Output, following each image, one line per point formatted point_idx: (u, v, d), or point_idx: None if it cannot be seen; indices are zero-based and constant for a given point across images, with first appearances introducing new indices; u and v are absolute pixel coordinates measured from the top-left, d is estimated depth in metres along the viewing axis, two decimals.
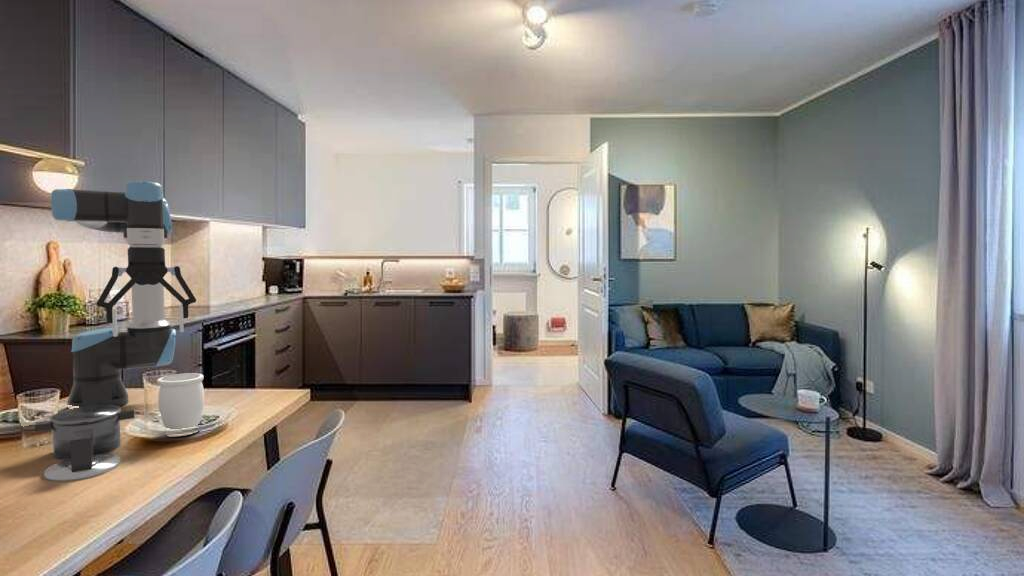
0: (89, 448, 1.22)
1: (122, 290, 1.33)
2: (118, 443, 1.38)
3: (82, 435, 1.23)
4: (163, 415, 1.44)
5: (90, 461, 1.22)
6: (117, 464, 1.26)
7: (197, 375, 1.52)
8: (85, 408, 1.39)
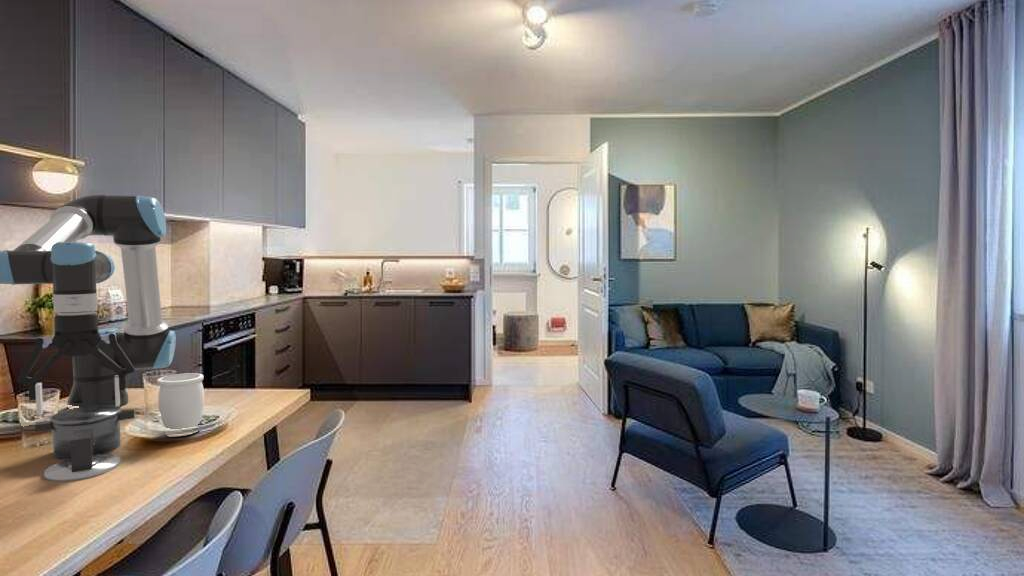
0: (89, 448, 1.22)
1: (47, 363, 1.19)
2: (118, 443, 1.38)
3: (82, 435, 1.23)
4: (163, 415, 1.44)
5: (90, 461, 1.22)
6: (117, 464, 1.26)
7: (197, 375, 1.52)
8: (85, 408, 1.39)
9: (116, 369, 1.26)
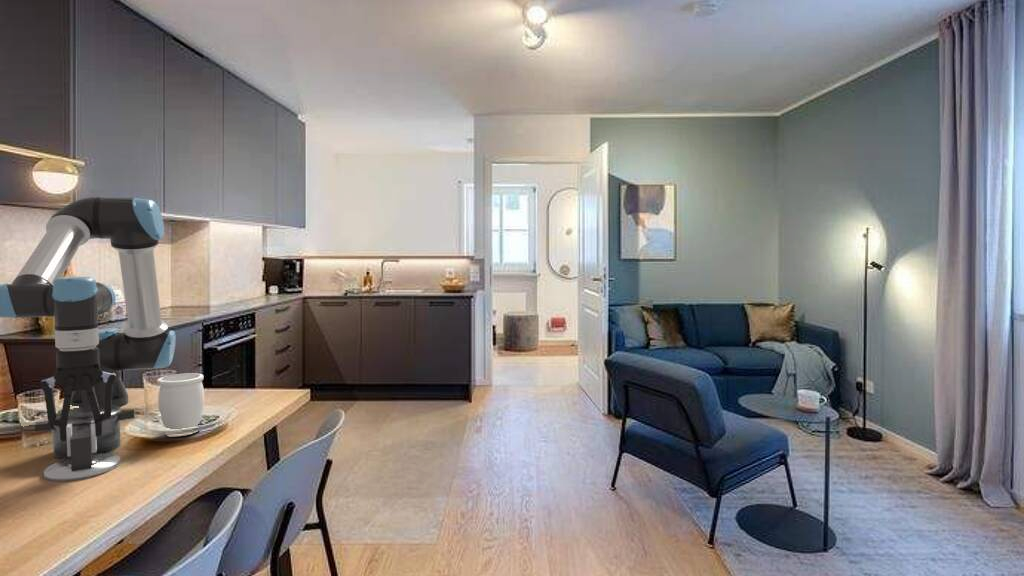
0: (89, 447, 1.22)
1: (64, 403, 1.21)
2: (118, 443, 1.38)
3: (81, 434, 1.23)
4: (163, 415, 1.44)
5: (90, 460, 1.22)
6: (117, 463, 1.26)
7: (197, 375, 1.52)
8: (85, 408, 1.39)
9: (96, 413, 1.24)
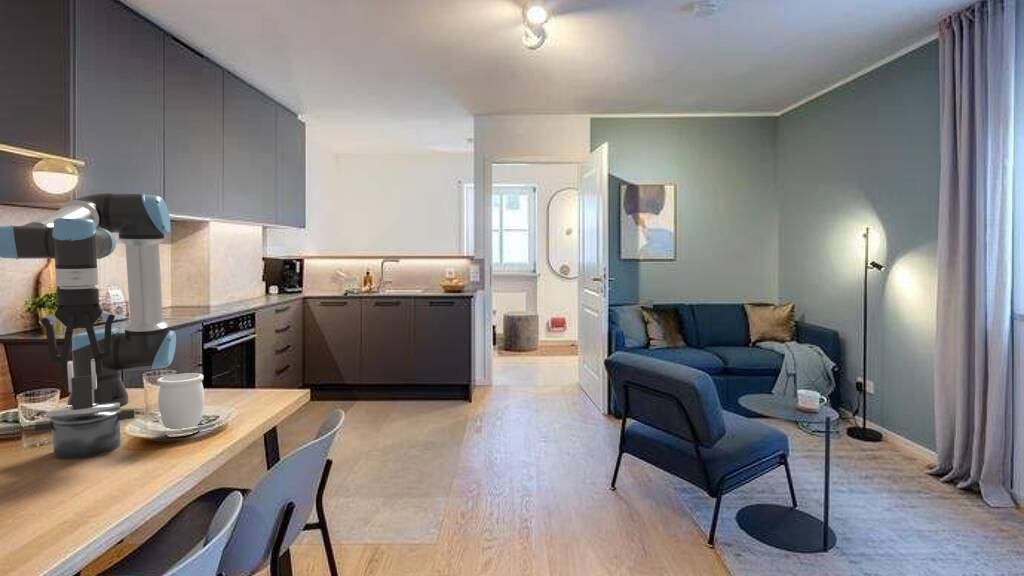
0: (90, 386, 1.27)
1: (65, 340, 1.25)
2: (118, 443, 1.38)
3: None
4: (163, 415, 1.44)
5: (91, 399, 1.26)
6: (117, 405, 1.30)
7: (197, 375, 1.52)
8: None
9: (96, 351, 1.28)
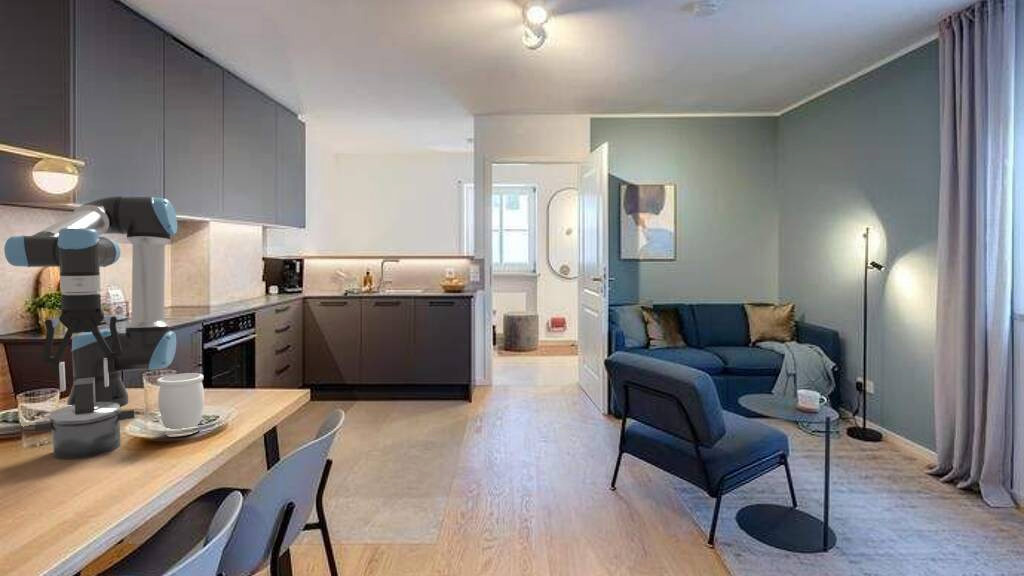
0: (91, 393, 1.32)
1: (63, 342, 1.31)
2: (118, 443, 1.38)
3: (84, 381, 1.34)
4: (163, 415, 1.44)
5: (92, 405, 1.33)
6: (117, 409, 1.36)
7: (197, 375, 1.52)
8: None
9: (107, 351, 1.36)
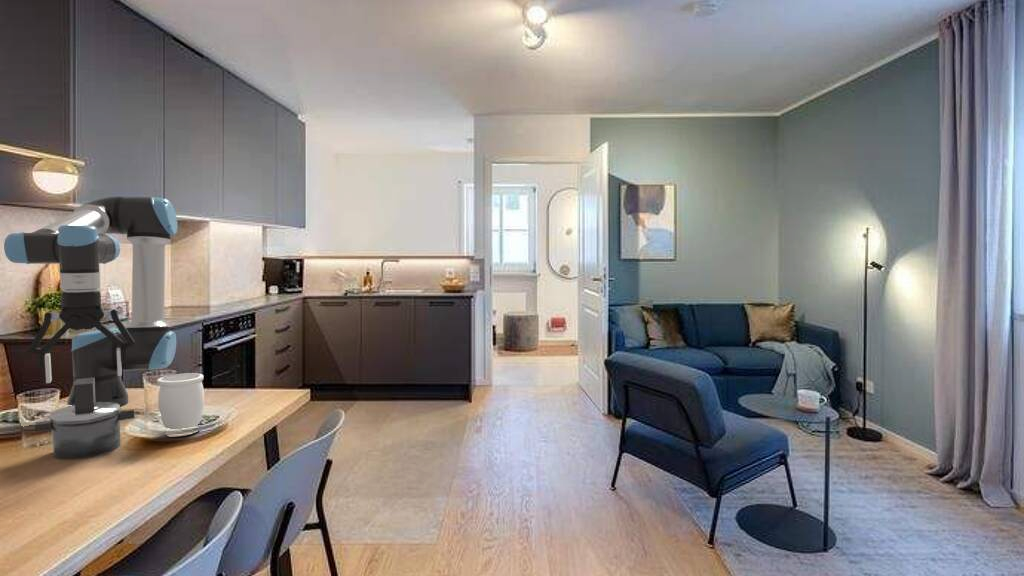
0: (91, 393, 1.32)
1: (55, 336, 1.30)
2: (118, 443, 1.38)
3: (84, 381, 1.34)
4: (163, 415, 1.44)
5: (92, 405, 1.33)
6: (117, 409, 1.36)
7: (197, 375, 1.52)
8: None
9: (118, 342, 1.37)
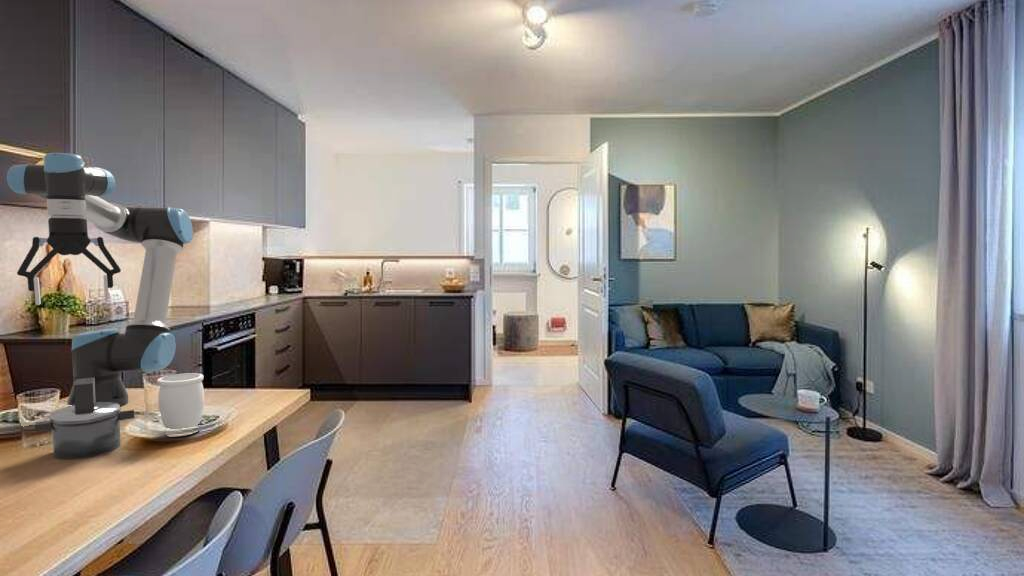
0: (91, 393, 1.32)
1: (43, 260, 1.36)
2: (118, 443, 1.38)
3: (84, 381, 1.34)
4: (163, 415, 1.44)
5: (92, 405, 1.33)
6: (117, 409, 1.36)
7: (197, 375, 1.52)
8: None
9: (104, 268, 1.43)
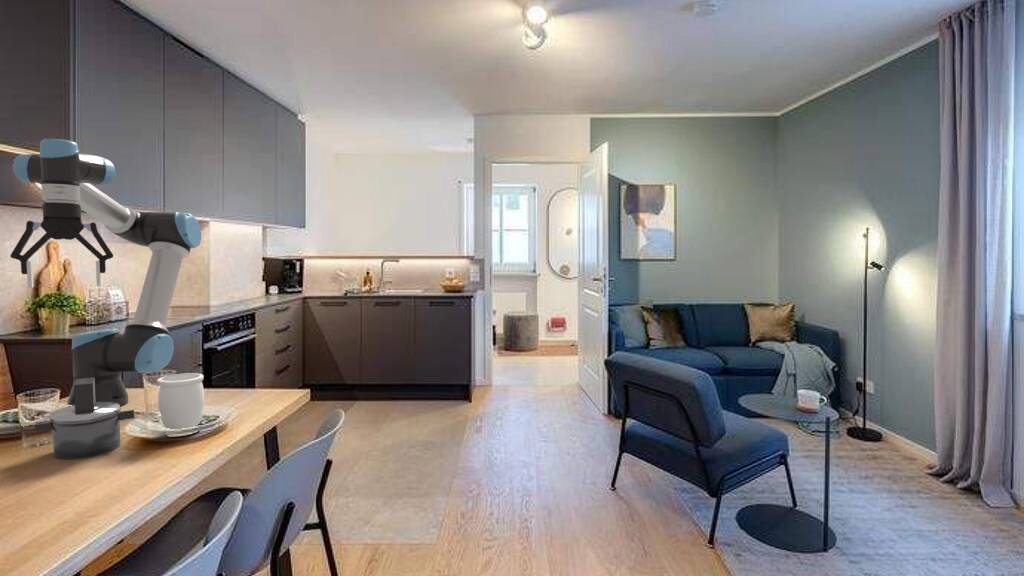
0: (91, 393, 1.32)
1: (37, 243, 1.38)
2: (118, 443, 1.38)
3: (84, 381, 1.34)
4: (163, 415, 1.44)
5: (92, 405, 1.33)
6: (117, 409, 1.36)
7: (197, 375, 1.52)
8: None
9: (97, 254, 1.45)
